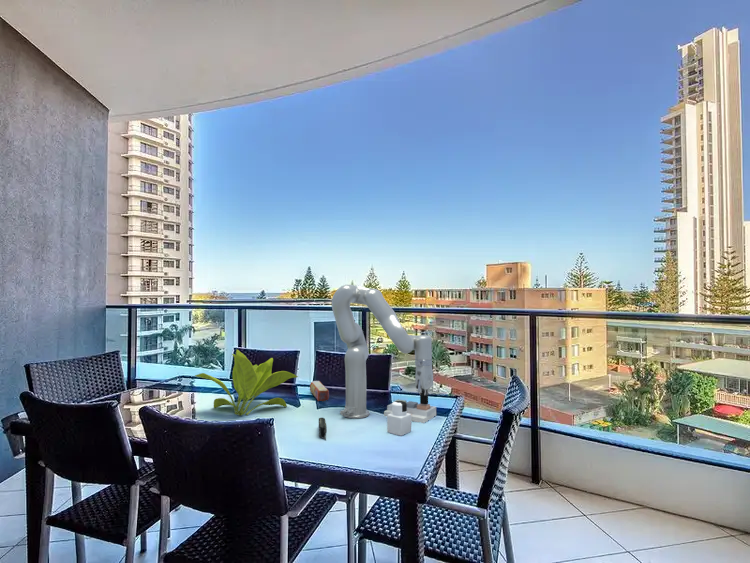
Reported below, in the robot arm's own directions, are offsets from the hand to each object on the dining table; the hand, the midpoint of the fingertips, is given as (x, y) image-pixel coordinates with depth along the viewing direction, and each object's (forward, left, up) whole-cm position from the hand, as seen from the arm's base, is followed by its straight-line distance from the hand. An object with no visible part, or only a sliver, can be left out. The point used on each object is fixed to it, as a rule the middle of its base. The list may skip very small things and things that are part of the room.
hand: (424, 403), depth 183 cm
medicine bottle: (-23, 0, -6) cm, 24 cm away
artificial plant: (-35, +75, -6) cm, 83 cm away
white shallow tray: (-2, +6, -6) cm, 9 cm away
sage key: (0, +12, -2) cm, 13 cm away
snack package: (+4, +64, -7) cm, 64 cm away
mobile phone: (-41, +25, -6) cm, 49 cm away
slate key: (0, +6, -2) cm, 7 cm away
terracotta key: (0, 0, -3) cm, 3 cm away
